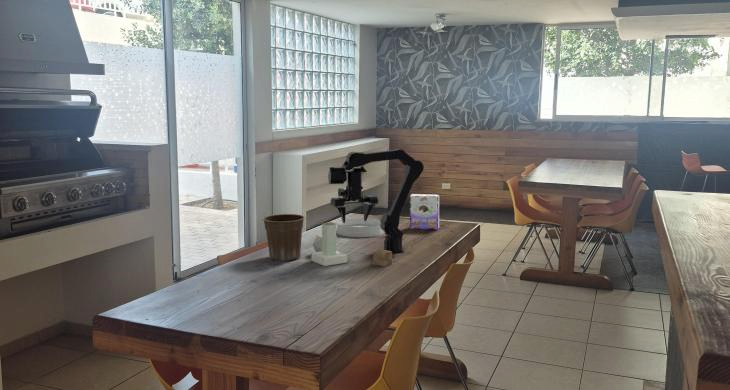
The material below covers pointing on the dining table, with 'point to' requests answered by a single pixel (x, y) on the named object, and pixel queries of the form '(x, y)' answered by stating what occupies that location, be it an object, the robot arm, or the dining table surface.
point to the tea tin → (329, 238)
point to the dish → (359, 227)
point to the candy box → (424, 211)
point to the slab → (329, 258)
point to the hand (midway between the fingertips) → (354, 222)
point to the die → (318, 243)
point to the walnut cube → (382, 257)
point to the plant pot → (284, 236)
